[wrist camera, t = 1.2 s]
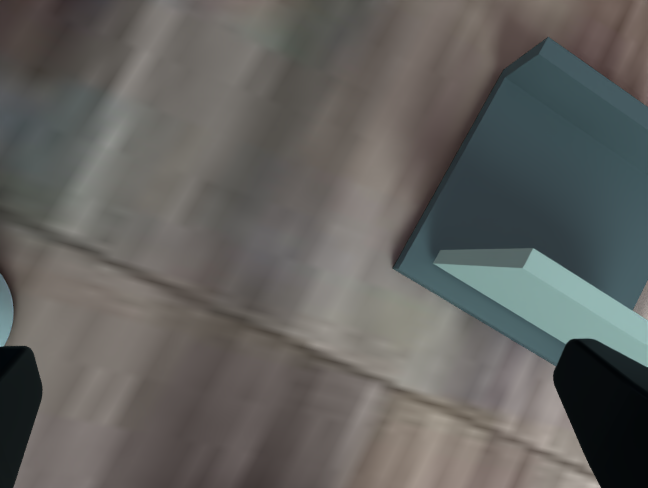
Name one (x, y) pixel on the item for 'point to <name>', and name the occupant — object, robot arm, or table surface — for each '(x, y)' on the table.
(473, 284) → the door
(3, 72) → the table surface
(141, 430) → the table surface
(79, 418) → the table surface
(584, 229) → the housing
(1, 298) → the can
